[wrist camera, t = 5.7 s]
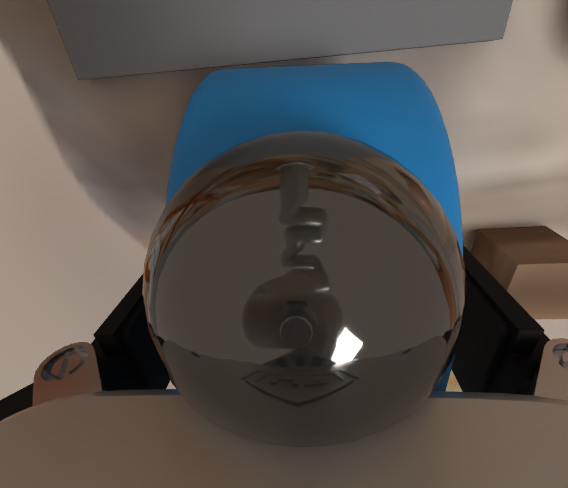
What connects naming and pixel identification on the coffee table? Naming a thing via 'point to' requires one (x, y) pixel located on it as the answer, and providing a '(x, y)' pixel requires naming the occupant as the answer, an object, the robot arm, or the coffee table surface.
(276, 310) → the alarm clock
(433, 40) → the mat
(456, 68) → the coffee table surface
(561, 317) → the walnut block
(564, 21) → the coffee table surface
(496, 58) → the coffee table surface
